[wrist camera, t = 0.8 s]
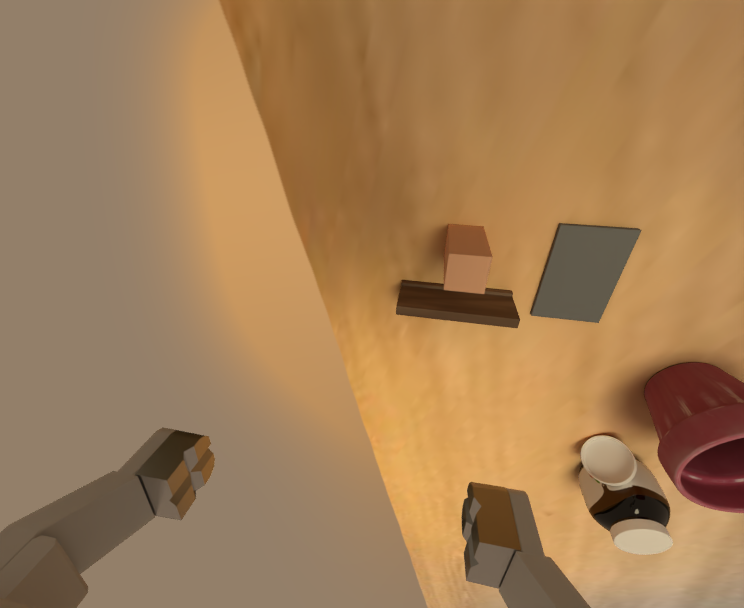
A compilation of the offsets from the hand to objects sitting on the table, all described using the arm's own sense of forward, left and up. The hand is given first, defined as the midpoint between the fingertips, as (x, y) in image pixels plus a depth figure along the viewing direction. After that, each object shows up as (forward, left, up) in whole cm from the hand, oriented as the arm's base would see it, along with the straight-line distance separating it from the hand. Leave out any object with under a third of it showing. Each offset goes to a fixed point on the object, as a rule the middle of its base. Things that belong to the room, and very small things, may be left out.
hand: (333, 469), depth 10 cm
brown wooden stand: (+13, +6, -34) cm, 37 cm away
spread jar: (+40, +34, -34) cm, 62 cm away
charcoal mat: (+8, +20, -34) cm, 40 cm away
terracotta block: (+5, +6, -34) cm, 34 cm away
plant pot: (+23, +38, -34) cm, 56 cm away
